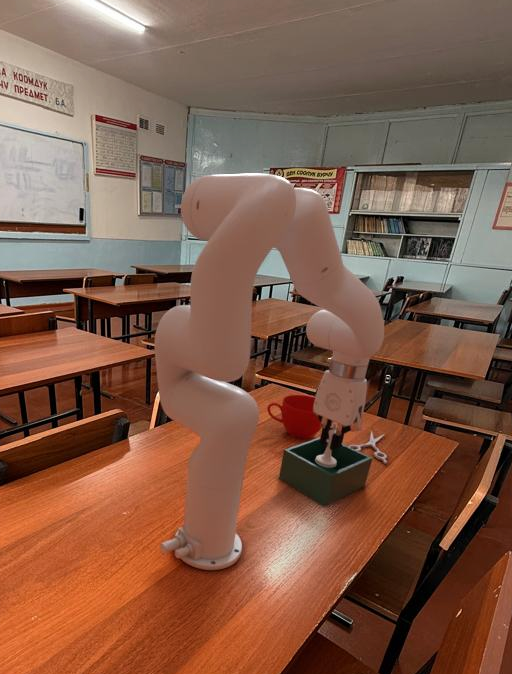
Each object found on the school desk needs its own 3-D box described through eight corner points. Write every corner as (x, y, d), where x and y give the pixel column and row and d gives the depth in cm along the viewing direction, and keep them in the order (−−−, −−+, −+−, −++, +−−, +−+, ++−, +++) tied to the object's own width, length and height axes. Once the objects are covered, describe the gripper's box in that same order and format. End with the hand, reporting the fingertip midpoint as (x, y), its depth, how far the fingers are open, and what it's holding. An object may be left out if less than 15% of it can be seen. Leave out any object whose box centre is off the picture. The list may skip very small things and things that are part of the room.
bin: (324, 506, 96) (332, 476, 92) (278, 478, 105) (283, 449, 102) (364, 486, 105) (372, 458, 101) (319, 461, 114) (325, 435, 111)
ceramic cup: (264, 421, 135) (268, 391, 131) (319, 428, 134) (325, 397, 130) (264, 439, 124) (269, 406, 120) (324, 447, 122) (331, 414, 118)
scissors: (346, 450, 120) (360, 425, 136) (345, 452, 120) (360, 428, 136) (386, 462, 115) (397, 435, 131) (386, 464, 115) (396, 437, 131)
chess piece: (337, 469, 100) (347, 430, 96) (315, 465, 101) (324, 426, 96) (335, 459, 104) (345, 421, 100) (314, 455, 105) (323, 418, 101)
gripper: (307, 361, 96) (292, 436, 104) (371, 383, 85) (349, 465, 93) (327, 357, 100) (312, 429, 108) (391, 378, 89) (369, 456, 97)
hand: (329, 445), depth 100 cm, fingers closed on chess piece
